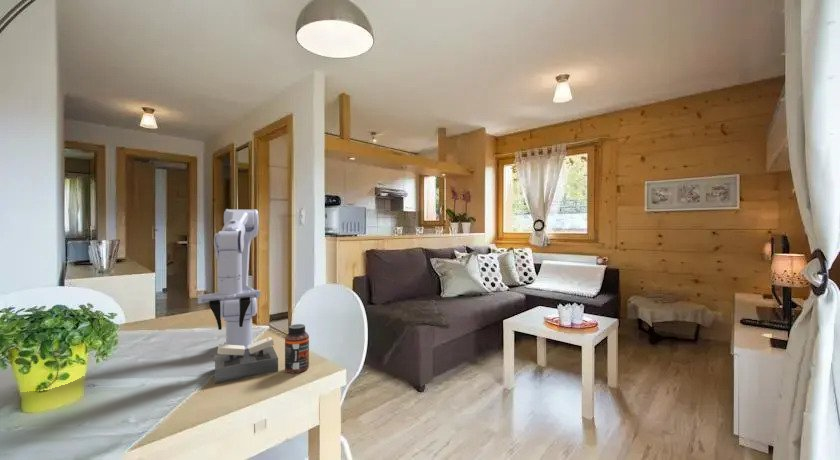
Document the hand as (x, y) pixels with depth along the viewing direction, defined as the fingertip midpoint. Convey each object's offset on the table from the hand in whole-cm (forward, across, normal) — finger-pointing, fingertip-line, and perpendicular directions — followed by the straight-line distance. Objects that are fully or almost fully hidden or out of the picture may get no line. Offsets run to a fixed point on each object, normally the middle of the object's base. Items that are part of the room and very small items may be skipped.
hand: (230, 327), depth 94 cm
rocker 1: (+5, 0, -3) cm, 6 cm away
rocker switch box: (+10, +3, -5) cm, 12 cm away
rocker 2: (+5, +7, -3) cm, 9 cm away
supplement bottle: (+11, +15, -11) cm, 21 cm away
